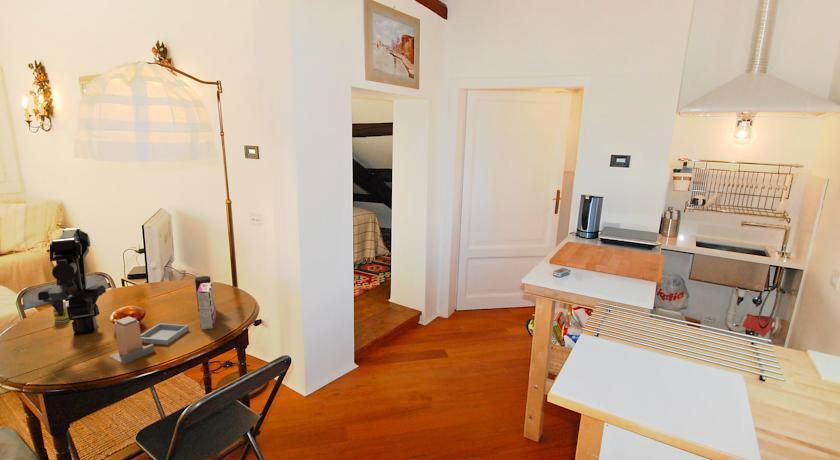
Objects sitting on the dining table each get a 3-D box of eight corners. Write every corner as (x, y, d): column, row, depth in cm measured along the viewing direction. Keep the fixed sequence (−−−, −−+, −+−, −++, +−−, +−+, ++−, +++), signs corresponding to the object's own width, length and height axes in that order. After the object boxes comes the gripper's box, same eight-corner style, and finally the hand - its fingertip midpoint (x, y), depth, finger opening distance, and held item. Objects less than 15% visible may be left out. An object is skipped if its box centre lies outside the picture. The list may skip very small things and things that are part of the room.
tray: (136, 343, 155) (135, 337, 154) (160, 328, 167) (159, 323, 166) (167, 345, 154) (166, 340, 153) (188, 330, 166) (188, 325, 165)
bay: (109, 356, 145) (107, 349, 145) (139, 344, 154) (138, 337, 153) (124, 364, 141) (123, 357, 140) (154, 352, 149) (153, 344, 148)
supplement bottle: (53, 323, 169) (49, 304, 167) (56, 319, 173) (53, 300, 171) (68, 321, 171) (64, 302, 169) (71, 317, 175) (68, 298, 173)
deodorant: (215, 309, 186) (212, 278, 182) (201, 313, 182) (197, 281, 178) (210, 306, 190) (207, 275, 186) (196, 309, 185) (192, 278, 182)
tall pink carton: (119, 353, 147) (113, 320, 144) (134, 347, 151) (129, 315, 148) (128, 358, 144) (123, 324, 141) (143, 352, 148) (138, 319, 145)
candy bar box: (203, 319, 176) (200, 283, 173) (216, 317, 178) (213, 281, 174) (200, 330, 166) (196, 292, 163) (213, 328, 168) (210, 291, 164)
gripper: (21, 281, 136) (29, 326, 139) (84, 278, 139) (91, 322, 142) (45, 272, 147) (53, 313, 150) (103, 269, 150) (109, 310, 153)
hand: (76, 315), depth 148 cm, fingers open, 9 cm apart
